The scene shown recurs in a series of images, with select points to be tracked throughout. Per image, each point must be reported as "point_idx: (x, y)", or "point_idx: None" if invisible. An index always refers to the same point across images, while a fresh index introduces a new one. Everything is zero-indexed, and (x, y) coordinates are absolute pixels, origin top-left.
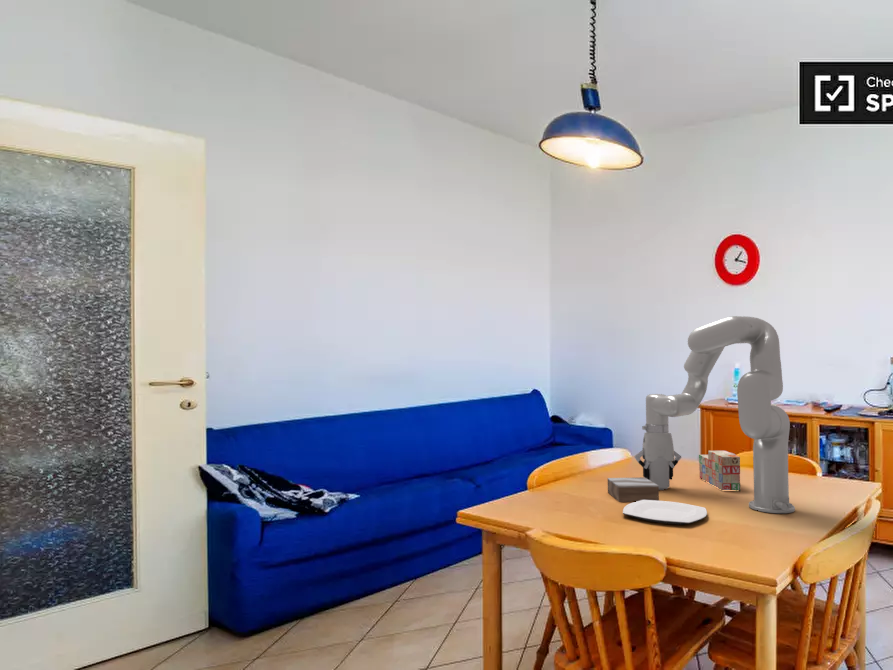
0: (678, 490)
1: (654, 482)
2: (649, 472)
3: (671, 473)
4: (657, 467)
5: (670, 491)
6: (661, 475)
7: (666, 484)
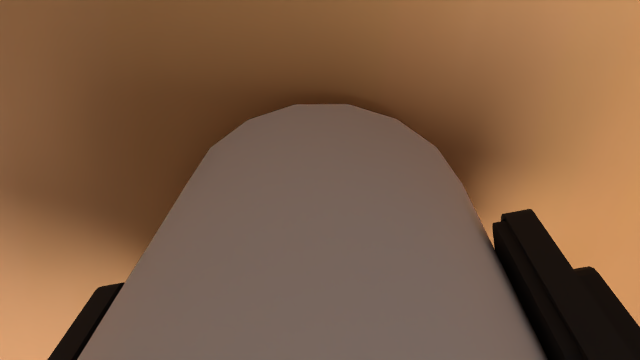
0: (76, 143)
1: (406, 148)
2: (523, 315)
3: (60, 353)
4: (362, 323)
5: (179, 67)
6: (268, 195)
7: (210, 158)
